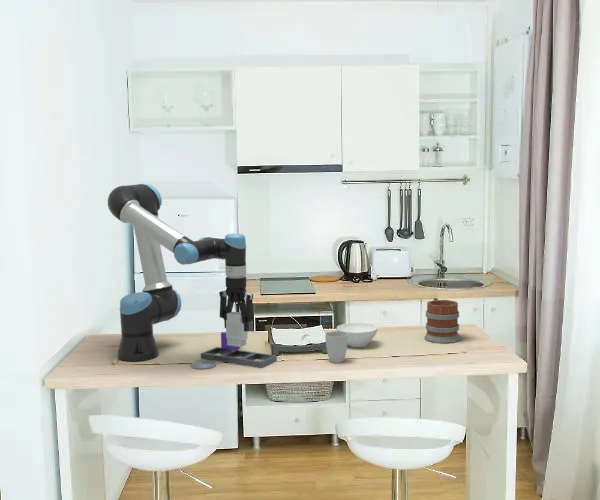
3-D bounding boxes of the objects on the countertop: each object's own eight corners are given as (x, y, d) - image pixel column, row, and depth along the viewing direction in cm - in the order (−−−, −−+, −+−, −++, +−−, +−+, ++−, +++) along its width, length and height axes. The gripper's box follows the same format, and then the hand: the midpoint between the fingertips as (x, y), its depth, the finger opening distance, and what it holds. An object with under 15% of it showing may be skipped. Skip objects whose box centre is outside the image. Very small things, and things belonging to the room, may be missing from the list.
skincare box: (246, 344, 282) (246, 312, 280) (240, 347, 278) (240, 315, 276) (232, 342, 284) (232, 311, 282) (226, 345, 280) (226, 313, 279)
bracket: (239, 350, 296) (238, 333, 295) (221, 350, 296) (220, 333, 295) (242, 342, 308) (242, 325, 307) (225, 342, 308) (225, 325, 307)
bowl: (379, 350, 291) (379, 332, 290) (337, 350, 291) (337, 332, 290) (376, 339, 307) (375, 322, 306) (336, 340, 307) (336, 322, 306)
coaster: (185, 367, 273) (185, 365, 273) (201, 360, 281) (201, 359, 281) (205, 370, 269) (205, 369, 269) (220, 364, 276) (220, 362, 276)
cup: (350, 358, 280) (350, 332, 279) (344, 364, 273) (344, 337, 271) (329, 356, 283) (329, 330, 281) (322, 363, 275) (322, 335, 274)
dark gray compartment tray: (200, 358, 284) (200, 353, 284) (217, 351, 293) (216, 346, 292) (261, 368, 270) (261, 362, 270) (276, 360, 279) (276, 355, 279)
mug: (428, 344, 298) (429, 306, 296) (418, 332, 317) (418, 296, 315) (464, 343, 298) (464, 305, 296) (451, 331, 317) (451, 295, 315)
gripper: (208, 275, 279) (209, 337, 282) (252, 280, 269) (252, 344, 273) (220, 272, 285) (221, 332, 289) (263, 277, 276) (264, 339, 279)
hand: (236, 338), depth 281 cm, fingers closed on skincare box, 6 cm apart
